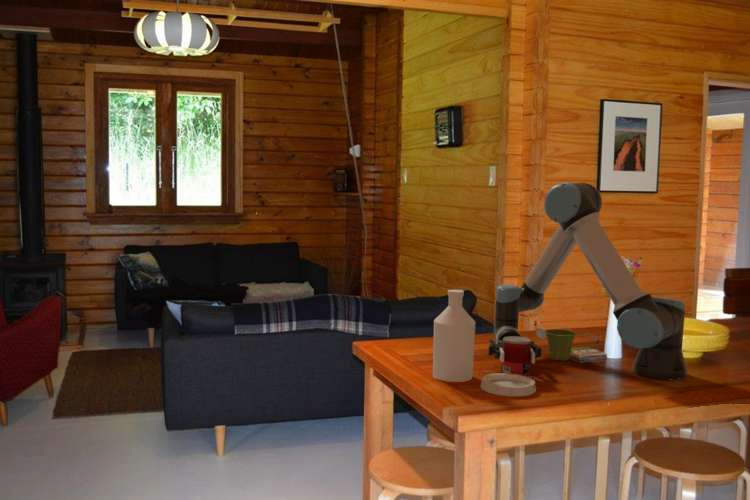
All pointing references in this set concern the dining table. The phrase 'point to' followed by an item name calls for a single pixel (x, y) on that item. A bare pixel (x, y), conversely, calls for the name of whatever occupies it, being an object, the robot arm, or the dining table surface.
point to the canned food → (516, 355)
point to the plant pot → (560, 343)
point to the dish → (508, 385)
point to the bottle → (453, 342)
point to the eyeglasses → (542, 334)
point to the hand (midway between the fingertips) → (518, 358)
